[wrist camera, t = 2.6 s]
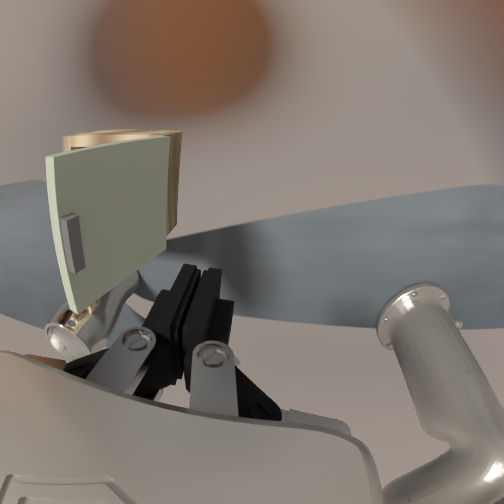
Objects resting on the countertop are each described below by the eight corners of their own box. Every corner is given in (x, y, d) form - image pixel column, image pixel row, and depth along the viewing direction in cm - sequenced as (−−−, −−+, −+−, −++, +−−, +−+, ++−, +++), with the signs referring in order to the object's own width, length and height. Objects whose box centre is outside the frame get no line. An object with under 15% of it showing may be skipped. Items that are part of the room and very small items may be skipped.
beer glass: (94, 258, 36) (33, 322, 23) (131, 249, 35) (70, 320, 22) (113, 297, 39) (65, 367, 26) (150, 292, 38) (105, 371, 25)
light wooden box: (182, 131, 28) (162, 135, 23) (176, 224, 33) (158, 245, 28) (92, 130, 28) (63, 136, 23) (94, 213, 33) (68, 231, 28)
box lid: (161, 135, 23) (178, 137, 22) (158, 246, 28) (172, 251, 27) (45, 156, 12) (60, 157, 12) (70, 309, 17) (85, 319, 17)
